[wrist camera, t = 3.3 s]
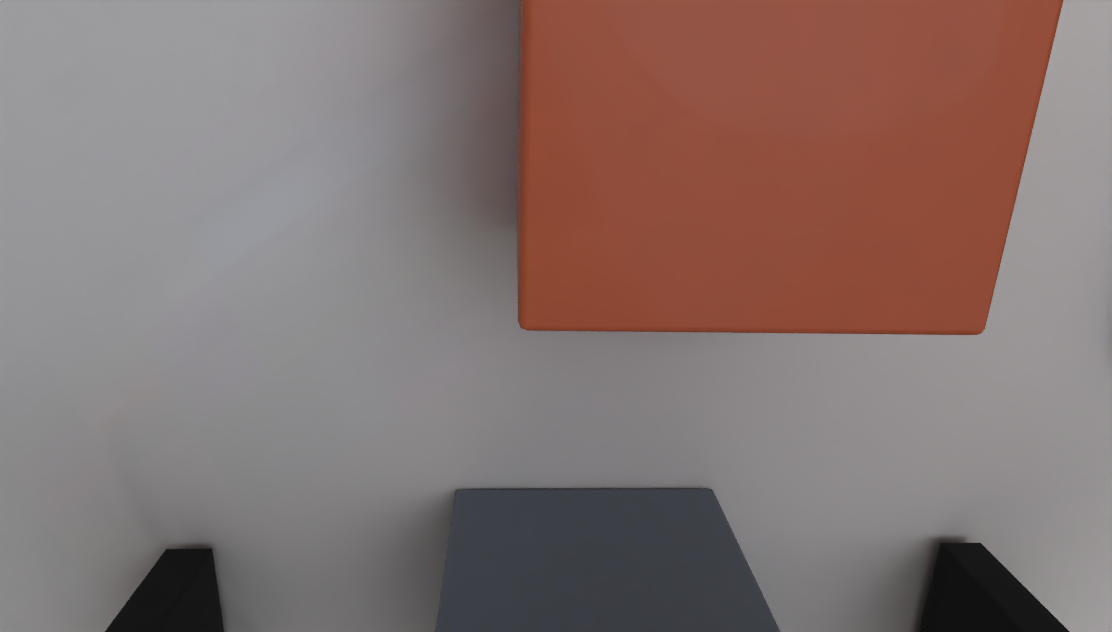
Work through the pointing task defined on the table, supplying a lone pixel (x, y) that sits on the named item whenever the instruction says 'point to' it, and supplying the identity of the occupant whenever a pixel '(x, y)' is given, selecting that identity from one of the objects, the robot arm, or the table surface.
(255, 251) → the table surface
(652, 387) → the table surface
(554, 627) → the slate block
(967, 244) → the terracotta block
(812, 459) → the table surface
